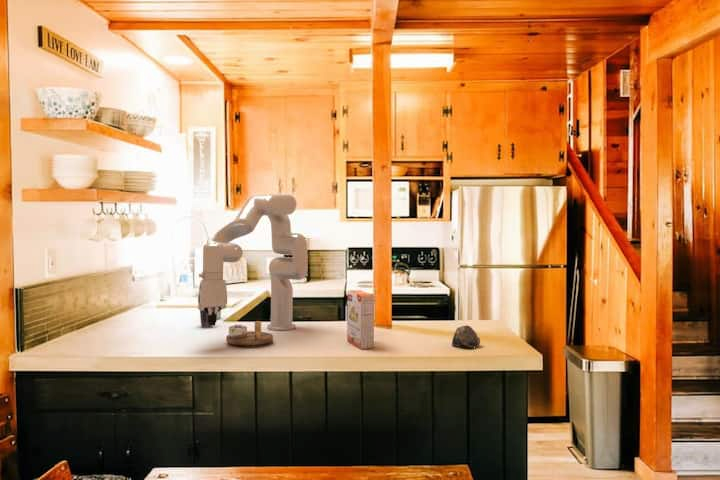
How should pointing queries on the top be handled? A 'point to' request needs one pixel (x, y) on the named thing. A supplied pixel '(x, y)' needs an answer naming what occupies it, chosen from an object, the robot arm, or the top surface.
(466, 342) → the dark rock
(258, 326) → the turntable
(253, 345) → the turntable base
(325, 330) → the top surface
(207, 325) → the beverage cup
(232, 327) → the cover
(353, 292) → the cracker box
